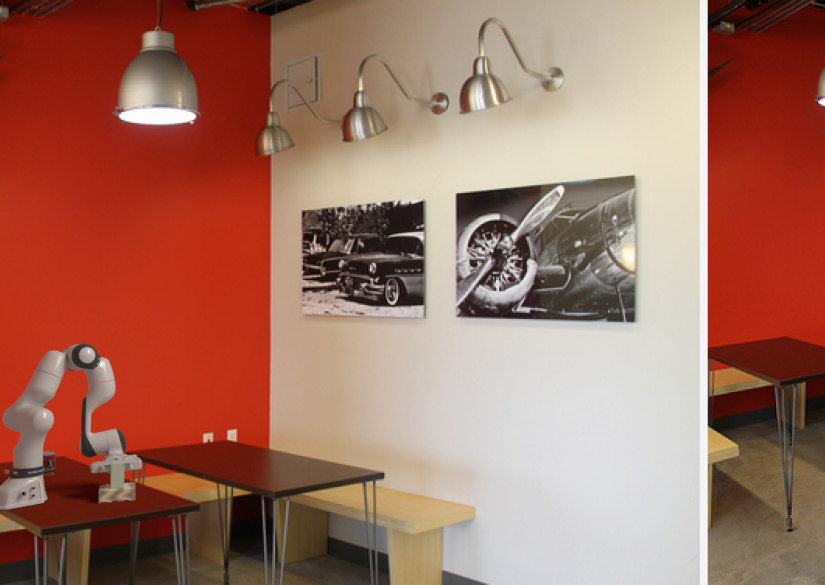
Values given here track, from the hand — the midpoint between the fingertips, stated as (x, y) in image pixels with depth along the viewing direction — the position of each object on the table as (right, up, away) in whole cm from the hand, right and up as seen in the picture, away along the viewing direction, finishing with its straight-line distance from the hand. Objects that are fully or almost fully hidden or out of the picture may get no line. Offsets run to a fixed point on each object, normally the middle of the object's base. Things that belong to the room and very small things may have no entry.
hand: (117, 469), depth 331 cm
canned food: (-51, -14, +48) cm, 72 cm away
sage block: (0, -8, +1) cm, 8 cm away
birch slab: (0, -13, +1) cm, 13 cm away
